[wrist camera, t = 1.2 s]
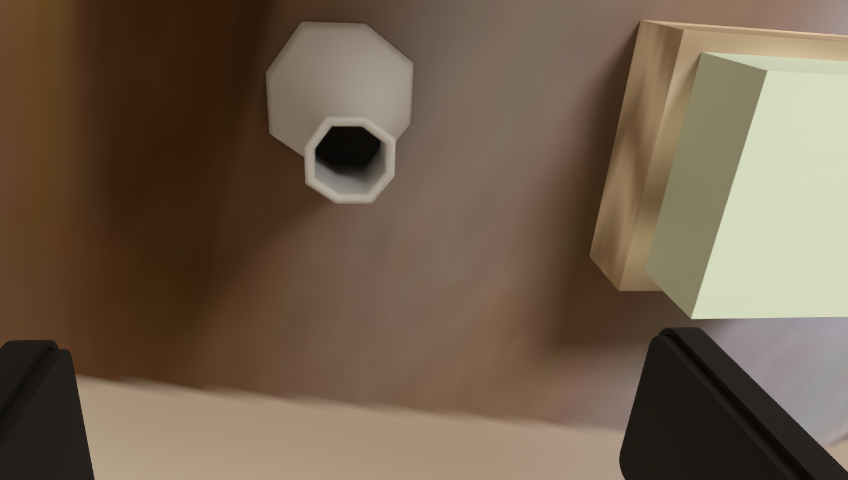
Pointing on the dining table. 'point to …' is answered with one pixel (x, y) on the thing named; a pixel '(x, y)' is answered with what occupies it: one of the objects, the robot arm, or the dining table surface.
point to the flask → (341, 107)
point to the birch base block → (669, 129)
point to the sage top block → (758, 192)
